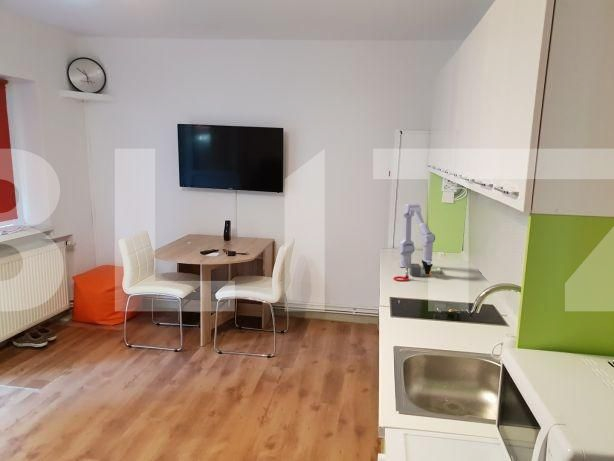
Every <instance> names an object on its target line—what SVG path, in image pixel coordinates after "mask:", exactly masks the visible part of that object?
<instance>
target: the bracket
mask: <svg viewBox="0 0 614 461" xmlns="http://www.w3.org/2000/svg"><path fill="white" fill-rule="evenodd" d="M420 266H421V265H420V263H413V262H411V267H412V276H411V277H412V278H421V277H422V276H421V267H420Z"/></svg>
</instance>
